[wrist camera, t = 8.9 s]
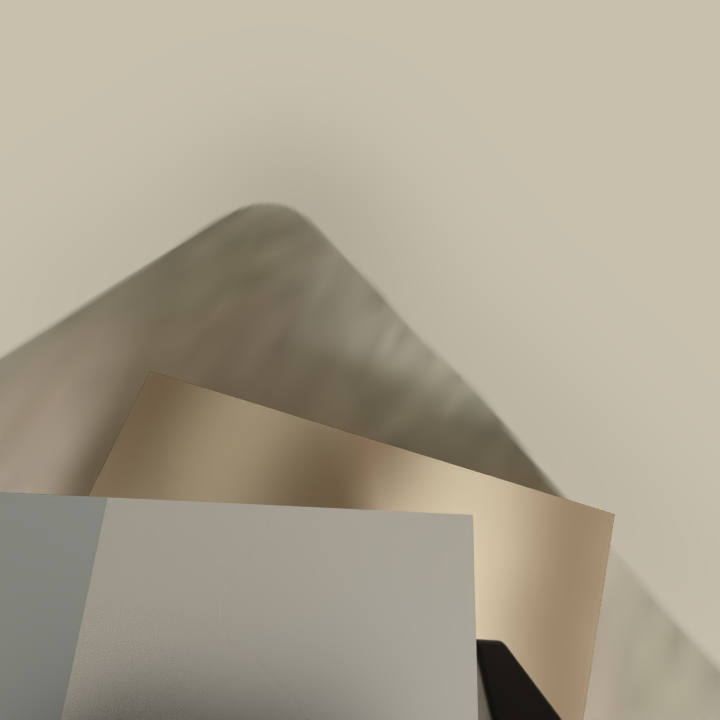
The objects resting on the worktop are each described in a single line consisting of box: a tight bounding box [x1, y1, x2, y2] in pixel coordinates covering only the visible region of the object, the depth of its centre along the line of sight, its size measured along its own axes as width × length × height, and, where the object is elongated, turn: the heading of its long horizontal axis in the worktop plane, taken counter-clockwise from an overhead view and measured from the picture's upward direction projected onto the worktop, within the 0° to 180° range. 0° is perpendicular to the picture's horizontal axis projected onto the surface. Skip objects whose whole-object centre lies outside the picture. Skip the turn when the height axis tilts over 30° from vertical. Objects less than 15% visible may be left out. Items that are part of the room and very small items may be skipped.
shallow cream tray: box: [89, 371, 615, 720], centre depth 17 cm, size 14×14×3 cm
